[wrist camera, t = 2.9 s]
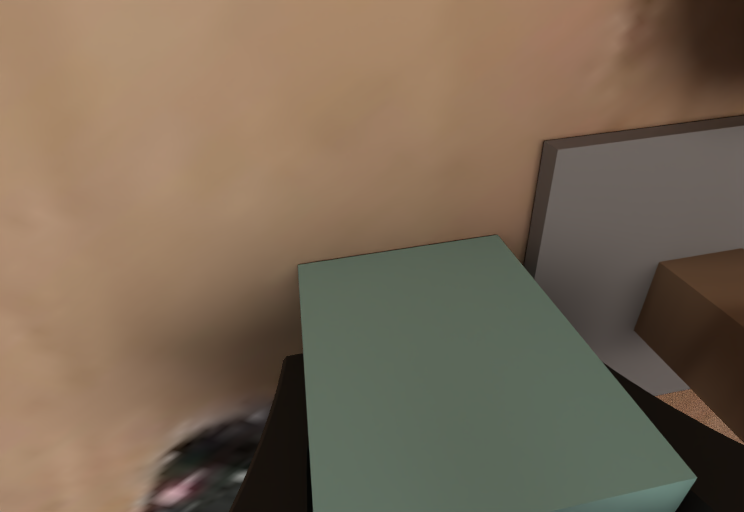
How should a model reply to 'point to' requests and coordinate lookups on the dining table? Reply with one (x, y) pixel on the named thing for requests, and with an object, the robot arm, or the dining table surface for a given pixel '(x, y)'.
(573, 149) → the base
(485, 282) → the upright teal cuboid
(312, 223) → the dining table surface
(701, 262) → the wooden toy block
